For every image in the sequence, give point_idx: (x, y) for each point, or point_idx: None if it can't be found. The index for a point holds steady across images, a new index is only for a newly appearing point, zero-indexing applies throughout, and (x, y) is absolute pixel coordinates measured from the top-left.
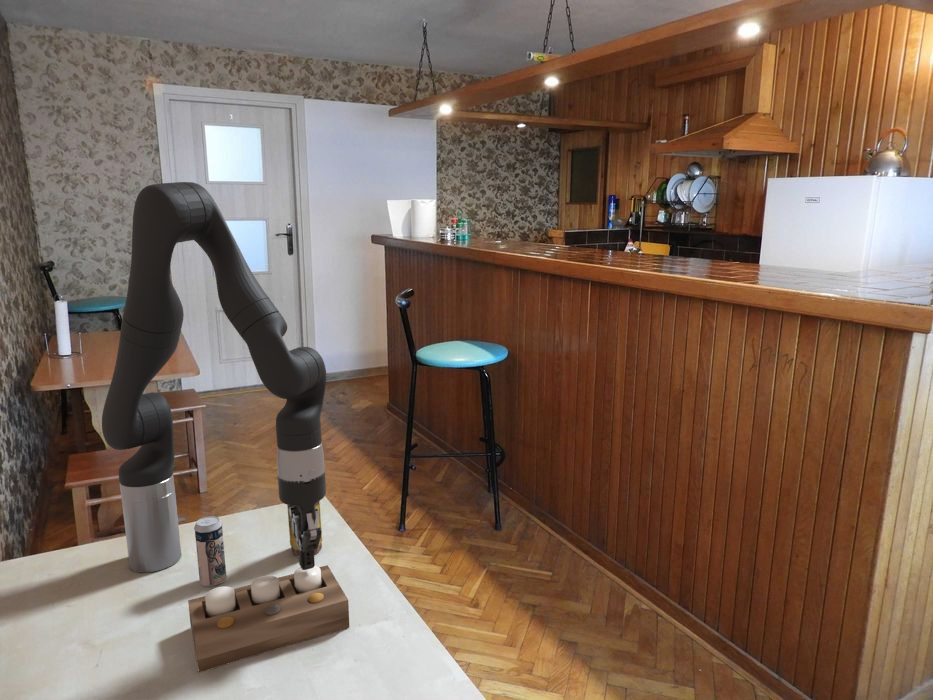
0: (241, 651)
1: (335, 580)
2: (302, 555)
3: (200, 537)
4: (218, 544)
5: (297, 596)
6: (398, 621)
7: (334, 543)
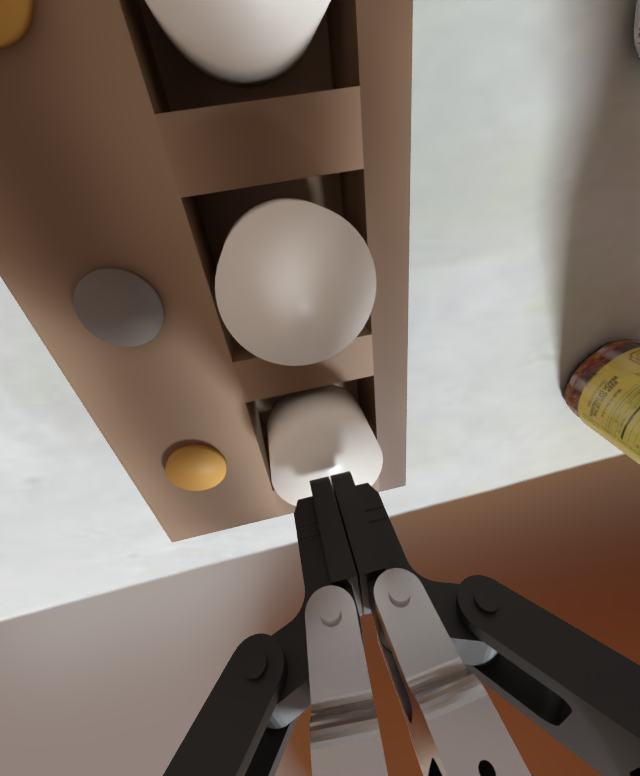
0: None
1: None
2: (324, 553)
3: None
4: None
5: (229, 406)
6: (192, 547)
7: (578, 437)
